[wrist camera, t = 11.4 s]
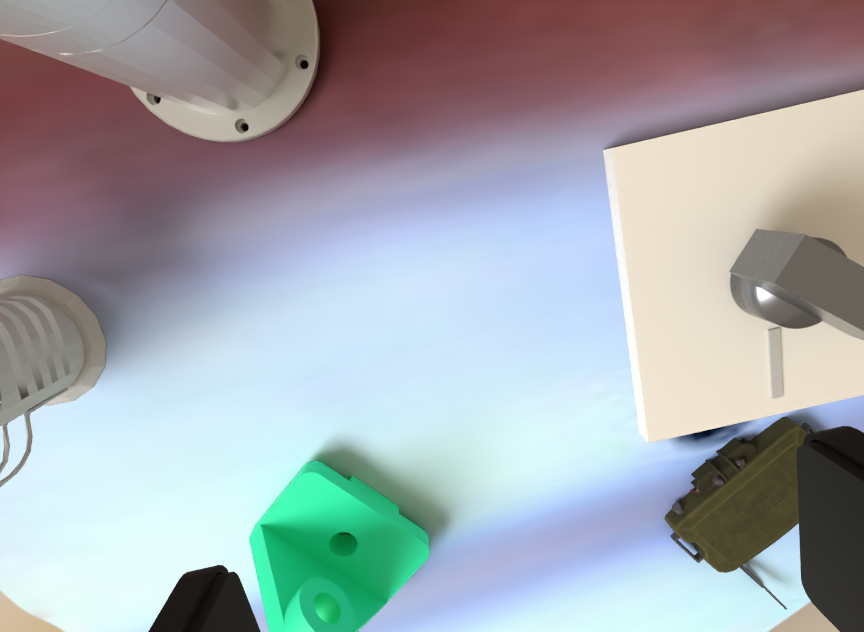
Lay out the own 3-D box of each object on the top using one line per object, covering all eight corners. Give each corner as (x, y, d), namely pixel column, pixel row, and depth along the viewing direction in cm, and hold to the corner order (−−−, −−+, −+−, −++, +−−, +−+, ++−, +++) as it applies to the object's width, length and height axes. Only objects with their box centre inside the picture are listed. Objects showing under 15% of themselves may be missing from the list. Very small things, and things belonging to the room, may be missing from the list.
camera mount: (433, 528, 41) (441, 636, 31) (377, 589, 42) (367, 712, 32) (314, 448, 39) (281, 538, 29) (259, 516, 40) (209, 624, 30)
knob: (690, 283, 35) (758, 306, 28) (738, 205, 33) (822, 209, 27) (834, 358, 37) (931, 397, 30) (885, 286, 35) (998, 309, 29)
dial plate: (603, 150, 34) (612, 148, 32) (891, 82, 34) (916, 77, 32) (639, 433, 39) (649, 444, 38) (887, 378, 39) (908, 386, 37)
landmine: (800, 408, 37) (906, 524, 40) (775, 394, 40) (876, 504, 43) (658, 529, 39) (768, 631, 42) (642, 508, 42) (747, 605, 45)
